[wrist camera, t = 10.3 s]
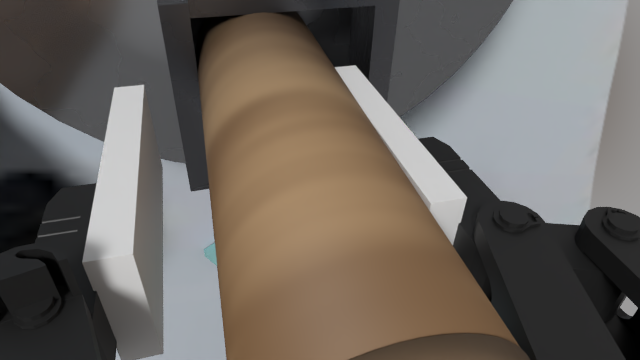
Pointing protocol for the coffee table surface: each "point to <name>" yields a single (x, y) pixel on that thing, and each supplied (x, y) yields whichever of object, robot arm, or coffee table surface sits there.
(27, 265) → the robot arm
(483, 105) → the coffee table surface
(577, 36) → the coffee table surface
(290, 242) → the key peg
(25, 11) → the disc
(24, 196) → the coffee table surface
